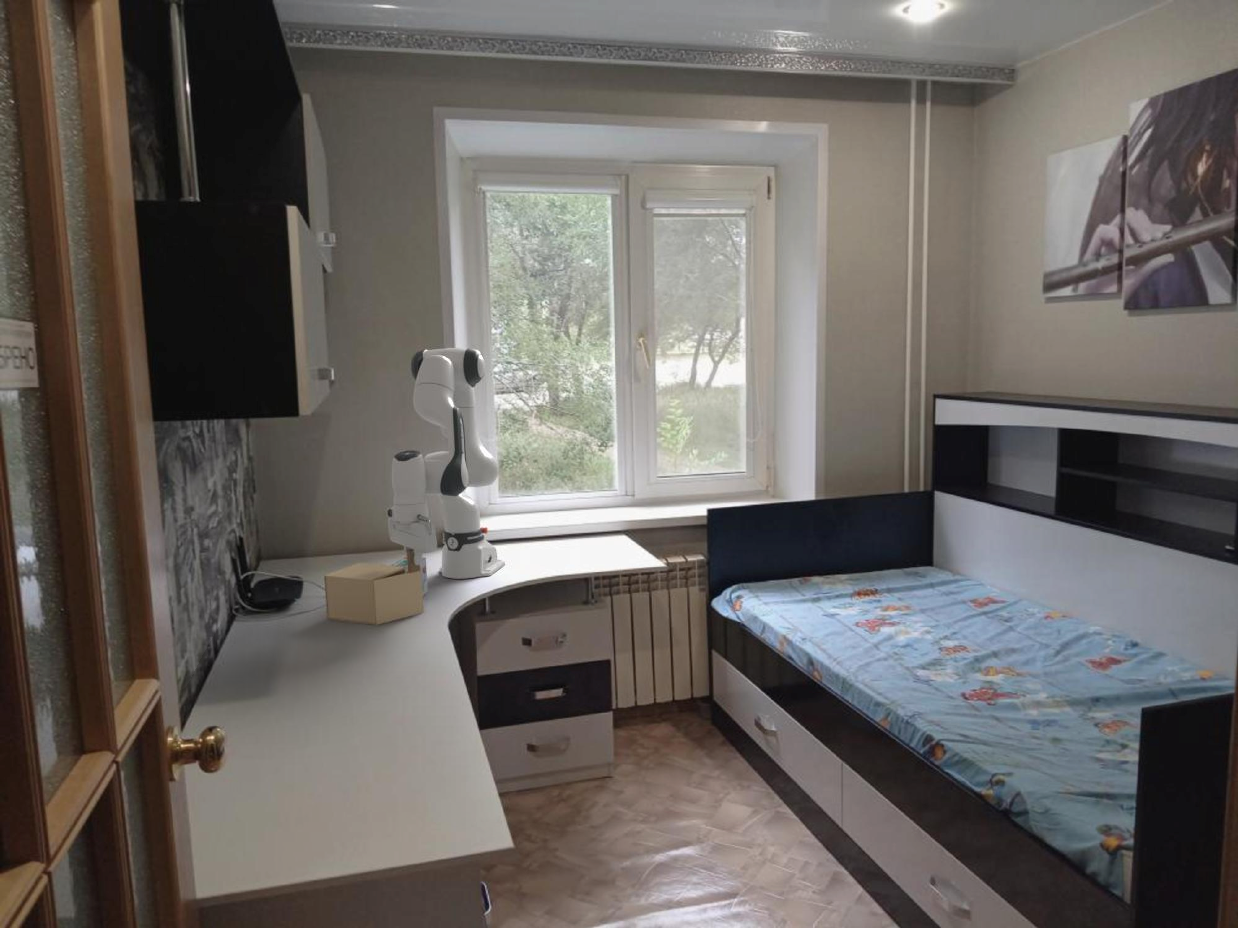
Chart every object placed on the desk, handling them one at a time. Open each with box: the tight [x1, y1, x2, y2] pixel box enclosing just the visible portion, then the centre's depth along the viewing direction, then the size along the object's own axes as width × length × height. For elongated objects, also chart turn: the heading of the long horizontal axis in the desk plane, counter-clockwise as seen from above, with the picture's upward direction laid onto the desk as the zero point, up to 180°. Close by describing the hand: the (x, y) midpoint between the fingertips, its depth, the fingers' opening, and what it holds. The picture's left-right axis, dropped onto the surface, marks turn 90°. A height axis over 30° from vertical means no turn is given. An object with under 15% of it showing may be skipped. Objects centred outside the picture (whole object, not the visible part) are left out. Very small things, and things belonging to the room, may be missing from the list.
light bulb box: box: [389, 556, 429, 596], centre depth 245 cm, size 11×7×11 cm, turn 168°
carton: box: [323, 562, 406, 626], centre depth 230 cm, size 14×16×12 cm
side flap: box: [373, 549, 425, 625], centre depth 225 cm, size 14×1×18 cm, turn 135°
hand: (414, 563), depth 227 cm, fingers closed
